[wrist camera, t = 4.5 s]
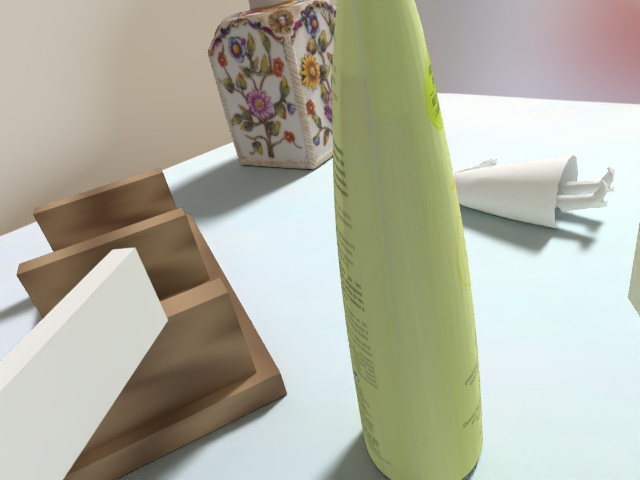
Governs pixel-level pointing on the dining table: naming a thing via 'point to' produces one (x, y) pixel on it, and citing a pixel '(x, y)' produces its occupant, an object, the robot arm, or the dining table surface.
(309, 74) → the decorative jar
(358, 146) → the tube
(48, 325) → the robot arm
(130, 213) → the wooden letter rack
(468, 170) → the woman figurine
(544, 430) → the dining table surface
